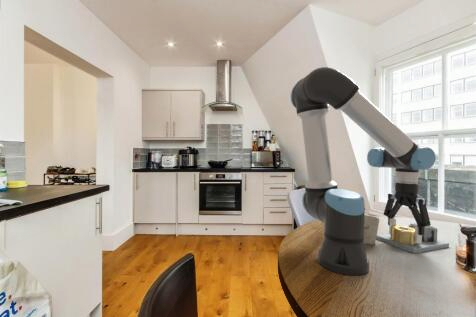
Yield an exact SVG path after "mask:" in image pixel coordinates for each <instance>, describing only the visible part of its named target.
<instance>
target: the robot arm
mask: <svg viewBox="0 0 476 317" xmlns="http://www.w3.org/2000/svg"><path fill="white" fill-rule="evenodd" d="M290 102H291V104H292V106H293V107H294V108H295V110H296V116H297V117H299V118H300V119H301V125H302V127H301V128H302V134H303V143H304V144H303V146H304V153H305V162H306V170H307V171H306V172H307V179H308V181H307V182H306V183H305V185H304V189H305V192H304V193H303V195H302V198H301V203H302V206H303V208H304V210H305V212H306V213H307V214H308V215H309V216H311V217H312V218H314V219H316V220H318V221H320V222H322V223H324V227H323V228H324V229H323V230H324V231H323V233H324V234H323V240H322V243H321V245H320V249H319V250H318V253H317V261H318V263H319V265H321V266H322V267H324V268H325V269H327V270H329V271H331V272H334V273H338V274H342V275H347V276H361V275H365V274H367V273H368V272H369V271H370V261H369V258H368V256H367V251H366V248H365V244H364V243H363V241H364V215H365V213H366V212H365V211H366V207H365V204H366V202H365V199H364V197H363V196H362V195H361V194H360V193H358V192H356V191H353V190H347V189H342V188H339V187H338V183H337V182H336V181H334V180H333V175H332V167H331V166H332V165H331V156H330V146H329V137H328V136H329V135H328V128H327V126H328V125H327V119H326V118H327V117H326V115H327V114H328V113H329V111H330V106H331V107H332V108H333V109H334V110H336V111H337V110H340V111H341V112H343V113H344V114H345V115H346V116H347V117H348V118H349V119H350V120H352V122H354V123H355V124H356V125H357V126H358V127H359V128H360V129H362V131H364V132H365V133H366V134H367V135H368V136H369V137H371V138H372V139H373V140H374V141H375V142H376V143H377V144H378V145H379V146H380V147H373V148H371V149H370V150H369V151H368V152H367V157H366V159H367V164H368V165H369V166H371V167H373V168H379V169H380V168H389V169H390V168H391V169H395V173H394V174H395V178H394V180H395V183H394V192H395V193H392V192H391V193H387V202H386V205H385V207H384V210H383V216H385V217H387V225H388V226H389V227H388V228H389V230H388V233H389V234H390V235H391V226H397V218H396V215H397V214H398V212H399V210H401V207H402V206H405V207H408V210H410V212H411V215H412V216H413V218H414V220H415V222H416V223H415V224H417V226H415V243H422V235H424V227H425V226H432V224H431V219H430V217H429V213H428V207H427V199H426V198H419V196H418V193H419V184H418V182H419V170H420V171H425V170H427V171H428V170H429V169H432V167H433V166H434V164H435V163H436V160H437V156H436V153H435V151H434V150H433V149H432V148H430V147H427V146H419V144H417V143H415V142H414V141H413V140H412V139H411V138H410V137H409V136H407V134H405V132H403V131H402V130H401V129H400V128H399V127H398V125H396V124H395V123H394V122H393V121H391V119H390V118H388V116H386V115H385V113H383V112H382V111H381V110H380V109H379V108H378V107H377V106H376V105H374V103H372V102H371V101H370V100H369V99H368V98H367V97H366V96H365V95H364V94H363V93H362V92H360V86H359V85H358V84H357V82H355V81H354V80H353V79H352V78H351V77H349V76H347V75H346V74H345V73H344V72H342V71H340V70H338V69H335V68H332V67H329V66H328V67H325V66H324V67H317V68H316V69H314V70H311V71H310V72H309V74H307V75H305V77H302V78H301V79H299V80H298V81H297V82H296V83H295V84H294V86H293V87H292V89H291V92H290ZM395 200H396V201H395Z"/></svg>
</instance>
